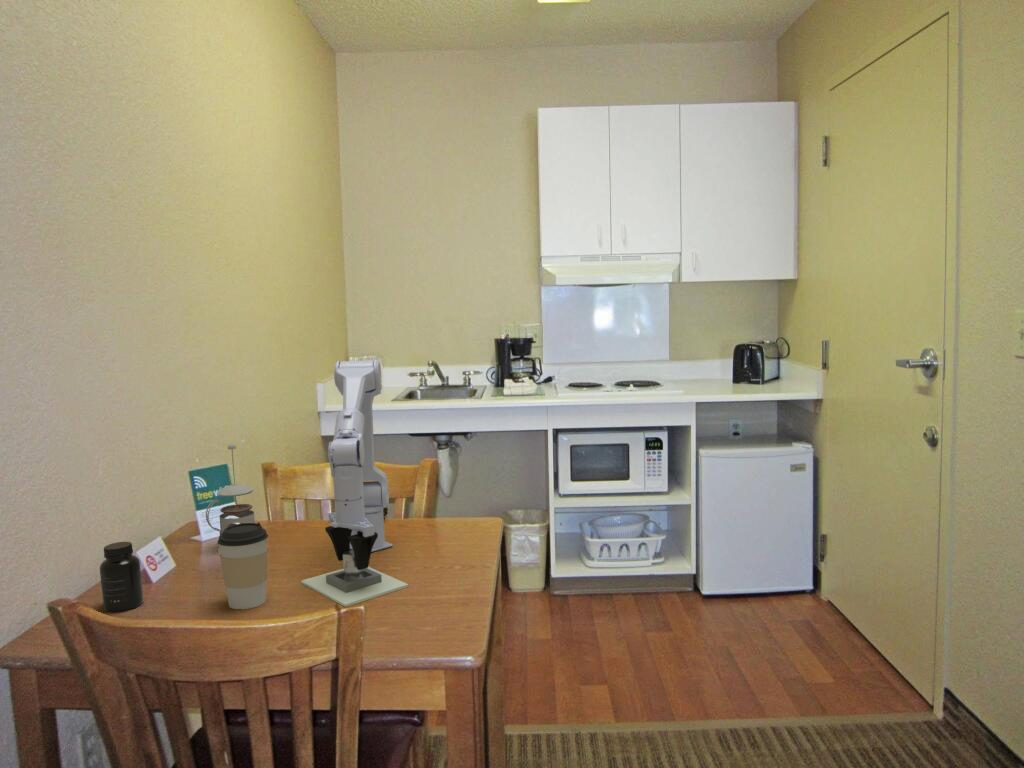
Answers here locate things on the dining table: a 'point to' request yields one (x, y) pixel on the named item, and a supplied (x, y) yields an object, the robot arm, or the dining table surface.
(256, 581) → the coffee cup
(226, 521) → the french press
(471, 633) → the dining table surface
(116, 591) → the supplement bottle
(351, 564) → the key peg
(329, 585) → the socket
